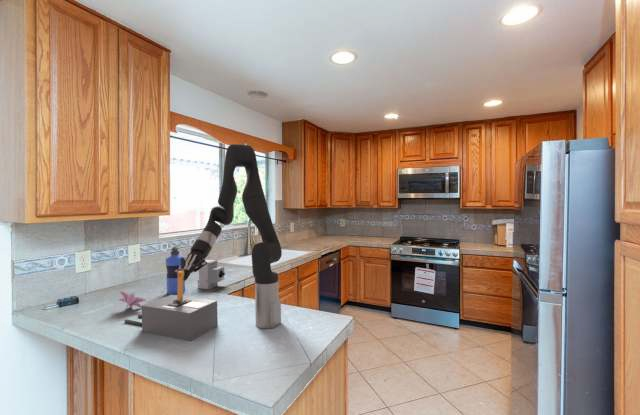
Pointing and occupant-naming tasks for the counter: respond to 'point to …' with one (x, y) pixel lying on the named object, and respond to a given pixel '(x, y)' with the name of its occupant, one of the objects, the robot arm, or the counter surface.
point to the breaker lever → (180, 286)
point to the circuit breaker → (210, 275)
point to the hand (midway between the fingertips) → (182, 279)
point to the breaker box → (178, 317)
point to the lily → (131, 300)
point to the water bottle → (173, 271)
